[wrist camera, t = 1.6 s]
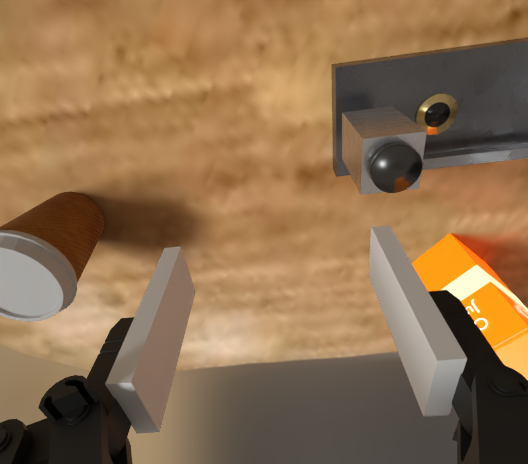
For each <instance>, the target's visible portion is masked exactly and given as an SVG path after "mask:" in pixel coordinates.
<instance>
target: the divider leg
mask: <svg viewBox="0 0 528 464" xmlns="http://www.w3.org/2000/svg"><path fill="white" fill-rule="evenodd" d="M426 133H427V131H426V130H424V129H423V128H421V127H420V126H419V125H417V124H416V123H415V122H413V121H412V120H410V119H409V118H408V117H406V116H405V115H404V114H402V113H401V112H399V111H398V110H397V109H395V108H394V107H393V106H389V107H382V108H374V109H366V110H358V111H350V112H342V160H343V161H344V163H345V165H346V167H347V169H348V171H349V173H350V175H351V177H352V179H353V181H354V182H355V184H356V186H357V188H358V190H359V192H360V194H361V195H362V194H371V193H380V192H388V193H396V192H400V191H403V190H408V189H417V188H419V184H420V177H421V171H422V165H423V164H422V162H423V155H424V148H425V141H426Z"/></svg>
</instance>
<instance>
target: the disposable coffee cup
mask: <svg viewBox="0 0 528 464" xmlns="http://www.w3.org/2000/svg"><path fill="white" fill-rule="evenodd" d="M104 228H105V217H104V214H103V212H102V211H101V209H100V208H99V206H98V205H97V204H96V203H95V202H94V201H92V200H91V199H89V198H88V197H86V196H84V195H81V194H78V193H73V192H64V193H60V194H57V195H55V196H54V197H52V198H50V199H49V200H47V201H45V202H43V203H42V204H40V205H38V206H36V207H35V208H33V209H31V210H29V211H28V212H26V213H24V214H22V215H21V216H19V217H17V218H15V219H14V220H12V221H10V222H8V223H7V224H5V225H3V226H1V227H0V315H1V316H3V317H7V318H11V319H14V320H20V321H40V320H45V319H48V318H50V317H52V316H54V315H55V314H57V313H58V312H60V311H62V310H64V309H66V308H67V307H68V306H69V305H70V304H71V303H72V302H73V300H74V298H75V296H76V291H77V282H78V281H79V278H80V277H81V274H82V272H83V270H84V268H85V266H86V264H87V262H88V260H89V258H90V256H91V254H92V252H93V250H94V248H95V246H96V244H97V242H98V240H99V238H100V236H101V234H102V232H103V230H104Z"/></svg>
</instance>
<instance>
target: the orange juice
mask: <svg viewBox="0 0 528 464" xmlns="http://www.w3.org/2000/svg"><path fill="white" fill-rule="evenodd" d="M412 265H413V267H414V268H415V270H416V272H417V273H418V275H419V277H420V279H421V280H422V282H423V284H424V285H425V287H426V289H427V291H438V290H448V291H449V292H450V293H452V294H453V295H454V296H456V297H457V298H458V299H459V300H460V301H461V302H462V304H463V305H464V307H465V308H466V310H467V311H468V314H470V316H471V317H472V319H473V320H474V323H475V324H477V326H478V327H479V329H480V330H481V332H482V333H483V335H484V336H485V338H486V339H487V341H488V342H489V344H490V345H491V347H492V348H493V349H494V351H495V352H496V354H497V355H498V357H499V358H500V360H501V361H502V362H503V363H504V365H505V366H508V367H510V368H513V369H514V370H516V371H517V372H519V373H520V374H522V375H523V376H524V377H525V378H526V379H527V380H528V309H527V308H526V307H525V306H524V305H523V303H522V302H521V301H520V300H519V299H518V298H517V297H516V296H515V295H514V294H513V293H512V292H511V291H510V289H509V288H508V287H507V286H506V285H505V284H504V283H503V281H502V280H501V279H500V278H499V277H498V276H497V275H496V274H495V272H494V271H493V270H492V269H491V268H490V267H489V266H488V265H487V263H485V262H484V261H483V260H482V259H481V258H479V257H478V256H477V255H476V254H474V253H473V252H472V251H471V250H470V249H468V248H467V247H466V246H465V245H464V244H462V243H461V242H460V241H459V240H457V239H456V238H455V237H454V236H453V235H451V234H448V235H447V236H446V237H445V238H443V239H442V240H441V241H439V242H438V243H437V244H436V245H434V246H433V247H432V248H431V249H429V250H428V251H427V252H425V253H424V254H423V255H422V256H420V257H419V258H418V259H417V260H415V261H414V262H413V263H412Z"/></svg>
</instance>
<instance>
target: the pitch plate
mask: <svg viewBox="0 0 528 464" xmlns="http://www.w3.org/2000/svg"><path fill="white" fill-rule="evenodd" d="M389 106H393V107H394V108H395V109H397V110H398V111H399V112H401V113H402V114H404V115H405V116H406V117H408V118H409V119H410V120H412V121H413V122H415V123H416V124H417V125H419V126H420V127H421V128H423V129H424V130H426V131H427V133H426V141H425V148H424V155H423V162H422V164H423V165H422V170H426V169H434V168H443V167H452V166H461V165H470V164H479V163H488V162H497V161H506V160H515V159H524V158H528V38H522V39H514V40H507V41H500V42H492V43H485V44H478V45H470V46H463V47H456V48H448V49H441V50H434V51H427V52H419V53H412V54H405V55H397V56H390V57H383V58H375V59H368V60H361V61H353V62H346V63H339V64H332V121H333V170H334V172H335V174H336V176H345V175H350V173H349V171H348V169H347V167H346V165H345V163H344V161H343V160H342V112H350V111H358V110H366V109H374V108H382V107H389Z"/></svg>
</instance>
